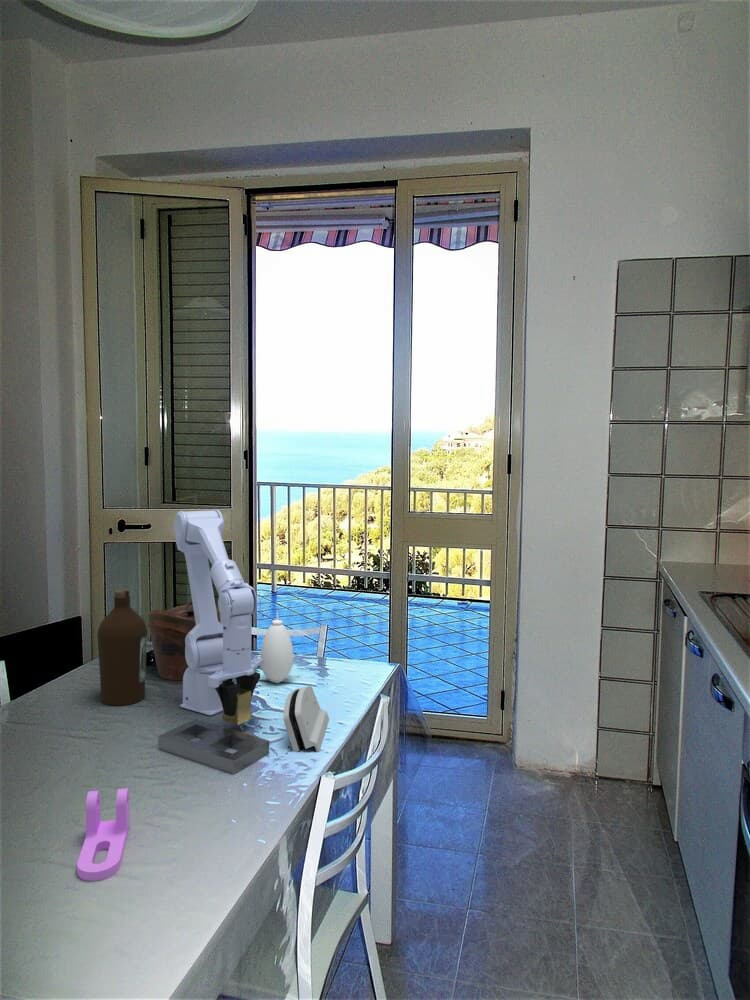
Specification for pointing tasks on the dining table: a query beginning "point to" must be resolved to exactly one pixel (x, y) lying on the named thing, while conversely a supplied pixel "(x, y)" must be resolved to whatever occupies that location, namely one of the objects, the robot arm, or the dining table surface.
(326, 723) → the grey piece
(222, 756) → the grey peg hole base
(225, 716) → the tan rectangular block
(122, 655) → the olive oil
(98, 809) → the bracket
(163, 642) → the terracotta flower pot
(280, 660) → the sauce bottle
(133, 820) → the dining table surface
